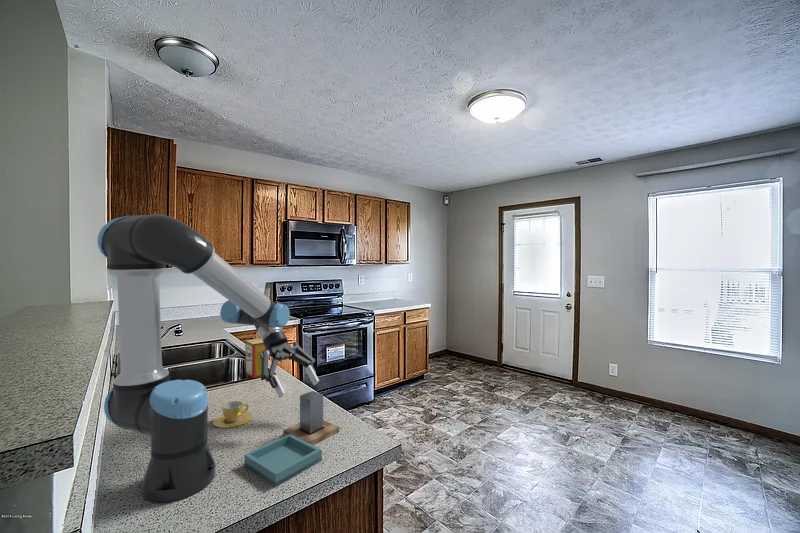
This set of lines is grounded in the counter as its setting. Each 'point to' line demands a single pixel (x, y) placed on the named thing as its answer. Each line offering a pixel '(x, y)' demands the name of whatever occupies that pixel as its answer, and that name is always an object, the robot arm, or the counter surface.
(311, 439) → the socket plate
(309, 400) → the grey rectangular block
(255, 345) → the baking soda box
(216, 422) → the cup
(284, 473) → the tray
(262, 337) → the robot arm
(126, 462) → the counter surface
